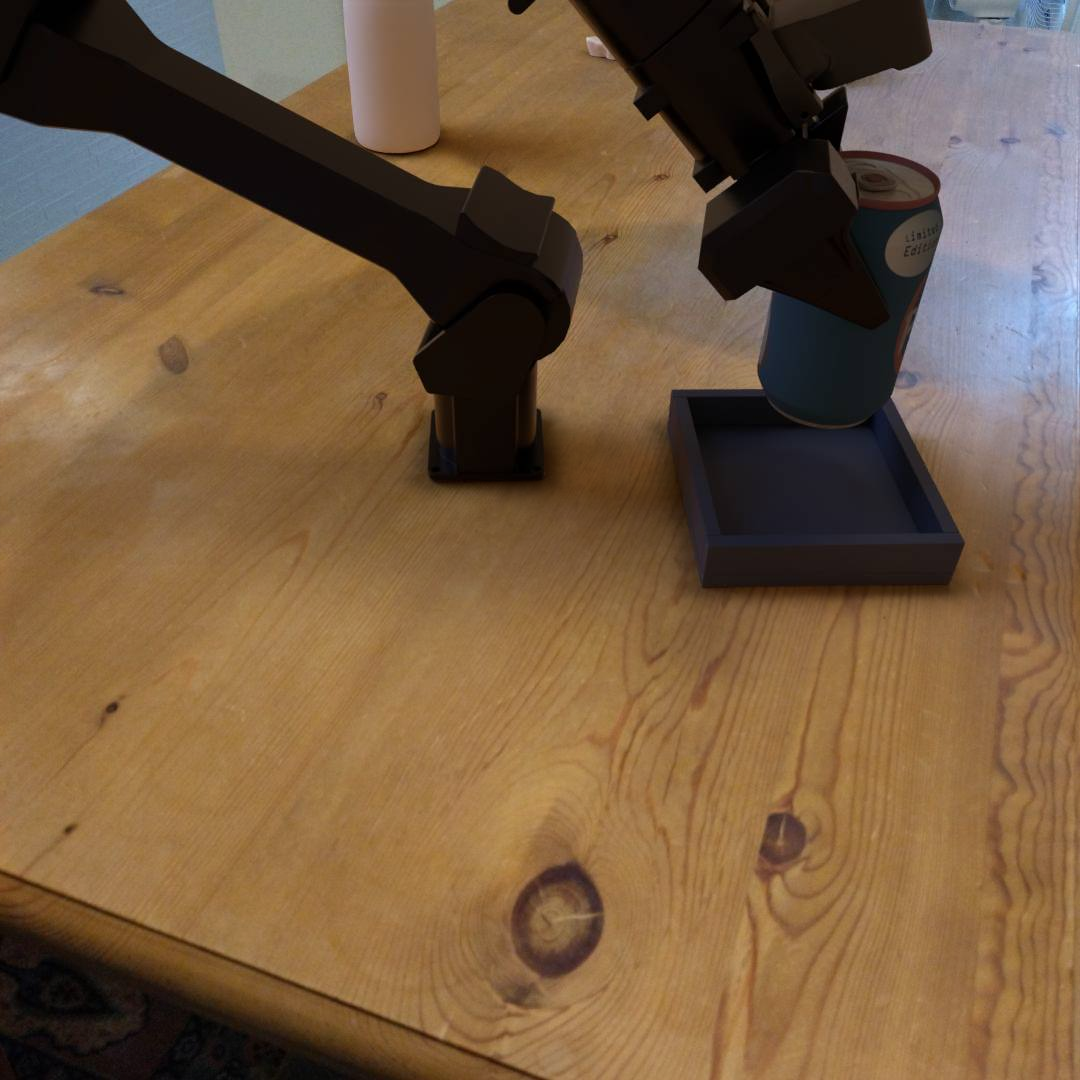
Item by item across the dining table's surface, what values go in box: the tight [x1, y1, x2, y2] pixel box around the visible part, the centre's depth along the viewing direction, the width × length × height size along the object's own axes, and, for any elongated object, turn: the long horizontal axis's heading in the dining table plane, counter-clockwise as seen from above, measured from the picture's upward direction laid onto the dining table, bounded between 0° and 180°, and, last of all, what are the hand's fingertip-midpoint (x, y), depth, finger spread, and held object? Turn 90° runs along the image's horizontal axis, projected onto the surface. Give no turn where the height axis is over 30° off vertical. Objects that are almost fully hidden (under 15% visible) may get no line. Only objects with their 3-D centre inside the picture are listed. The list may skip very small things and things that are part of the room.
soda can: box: [756, 149, 944, 429], centre depth 51 cm, size 7×7×12 cm
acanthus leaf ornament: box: [585, 35, 616, 61], centre depth 115 cm, size 8×7×2 cm
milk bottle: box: [342, 0, 441, 154], centre depth 89 cm, size 8×8×20 cm
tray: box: [666, 388, 966, 588], centre depth 57 cm, size 14×13×3 cm
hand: (876, 286), depth 51 cm, fingers closed on soda can, 7 cm apart
